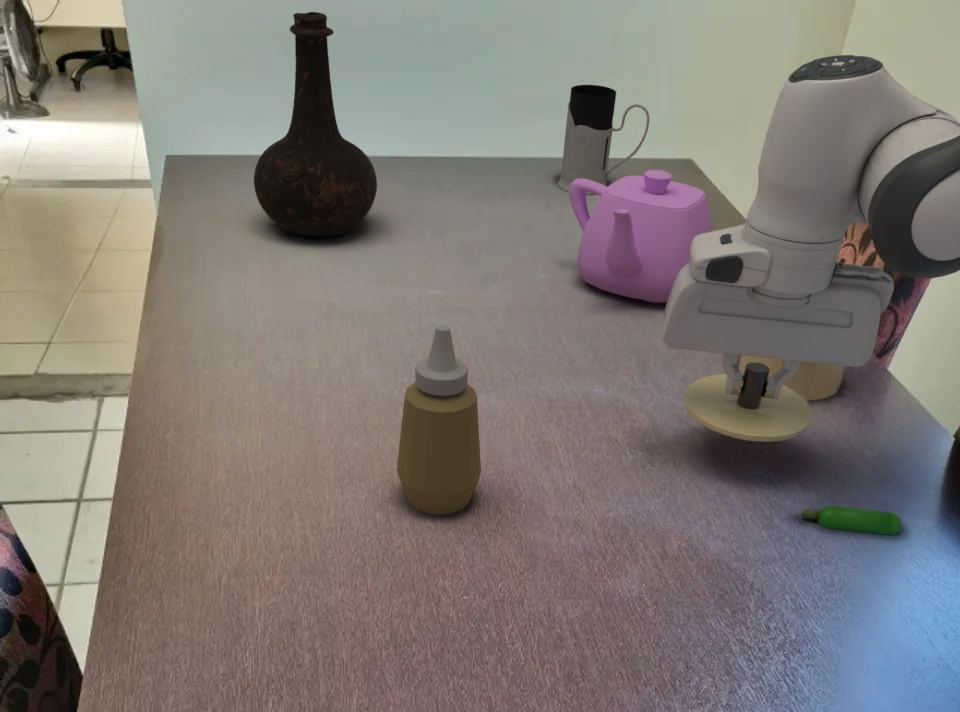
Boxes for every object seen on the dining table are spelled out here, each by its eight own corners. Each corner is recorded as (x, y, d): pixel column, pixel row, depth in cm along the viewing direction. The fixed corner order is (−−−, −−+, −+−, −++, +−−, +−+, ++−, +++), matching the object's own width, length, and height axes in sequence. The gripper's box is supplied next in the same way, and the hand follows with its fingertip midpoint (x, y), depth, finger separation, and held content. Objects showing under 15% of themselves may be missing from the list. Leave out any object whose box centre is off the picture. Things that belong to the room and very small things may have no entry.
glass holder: (563, 175, 174) (572, 81, 164) (641, 186, 172) (656, 91, 161) (552, 190, 167) (562, 93, 157) (634, 202, 165) (649, 104, 155)
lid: (800, 391, 105) (814, 345, 102) (817, 453, 95) (833, 406, 92) (680, 378, 106) (690, 332, 102) (684, 439, 96) (695, 391, 93)
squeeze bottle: (495, 503, 96) (509, 329, 84) (439, 537, 91) (445, 358, 79) (436, 471, 100) (440, 300, 88) (379, 502, 95) (375, 326, 83)
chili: (893, 528, 96) (902, 508, 95) (898, 542, 94) (907, 522, 93) (796, 518, 97) (802, 497, 95) (799, 532, 95) (805, 511, 93)
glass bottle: (236, 234, 145) (211, 14, 126) (297, 200, 157) (283, -5, 138) (342, 258, 140) (333, 33, 121) (396, 220, 153) (396, 11, 134)
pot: (826, 354, 125) (846, 290, 119) (848, 422, 112) (872, 352, 106) (732, 345, 125) (748, 280, 120) (743, 411, 112) (761, 341, 107)
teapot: (584, 248, 148) (597, 141, 138) (716, 280, 141) (740, 170, 131) (516, 297, 133) (525, 181, 123) (660, 337, 126) (682, 217, 116)
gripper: (893, 256, 92) (848, 390, 101) (676, 235, 93) (651, 369, 102) (907, 282, 87) (858, 420, 96) (678, 259, 88) (652, 398, 97)
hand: (750, 394), depth 99 cm, fingers closed on lid, 2 cm apart
